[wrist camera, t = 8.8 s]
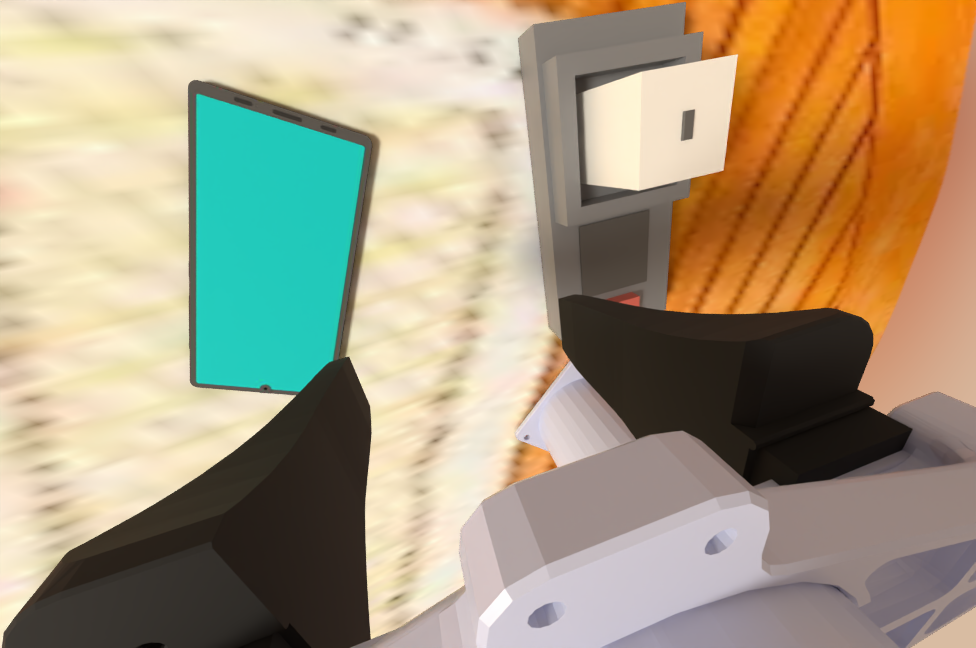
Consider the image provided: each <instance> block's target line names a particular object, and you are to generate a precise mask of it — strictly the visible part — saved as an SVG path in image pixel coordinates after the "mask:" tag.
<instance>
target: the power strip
mask: <svg viewBox="0 0 976 648" xmlns="http://www.w3.org/2000/svg"><path fill="white" fill-rule="evenodd" d="M685 8H686V2H683V3H676V4H669V5H662V6H656V7H649V8H642V9H635V10H628V11H622V12H615V13H608V14H601V15H594V16H588V17H581V18H574V19H567V20H560V21H554V22H547V23H540V24H533V25H532V26H531V27H530V28H529V29H528V30H527V31H526V32H525V33H523V34H522V35H521V36H520V37H519V38H518V43H519V52H520V61H521V71H522V80H523V90H524V99H525V108H526V118H527V127H528V137H529V146H530V155H531V165H532V174H533V183H534V193H535V202H536V212H537V221H538V230H539V240H540V249H541V259H542V268H543V277H544V287H545V296H546V305H547V315H548V324H549V328H550V329H551V330H552V331H553V332H554V333H555V334H556V335H557V336H558V337H559V338H560V339H561V340H562V336H561V325H560V314H559V303H558V299H559V298H563V297H566V296H570V295H573V294H578V295H586V296H591V297H596V298H600V299H605V300H610V301H614V302H619V303H624V304H628V305H634V306H639V307H645V308H651V309H657V310H665V309H666V297H667V282H668V267H669V251H670V236H671V221H672V206H673V201H676V200H680V199H684V198H688V197H689V194H690V182H691V178H690V179H686V180H682V181H677V182H673V183H669V184H665V185H661V186H656V187H652V188H648V189H644V190H639V191H638V190H630V189H622V188H614V187H606V186H597V185H589V184H581V183H580V170H579V149H578V129H577V109H576V94H579V93H582V92H584V91H587V90H590V89H593V88H596V87H599V86H602V85H605V84H608V83H610V82H613V81H616V80H619V79H622V78H625V77H628V76H631V75H634V74H637V73H639V72H643V71H648V70H654V69H659V68H665V67H671V66H676V65H682V64H687V63H693V62H698V61H701V54H702V42H703V32H698V33H692V34H685V35H684V23H685Z"/></svg>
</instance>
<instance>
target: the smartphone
mask: <svg viewBox="0 0 976 648" xmlns="http://www.w3.org/2000/svg"><path fill="white" fill-rule="evenodd" d="M188 142H189V349H190V383H191V384H192V385H193V386H195V387H200V388H213V389H225V390H238V391H250V392H260V393H275V394H287V395H297V394H298V393H299V392H300V391H301V390H302V389H303V388H304V387H305V386H306V385H307V384H308V383H309V382H310V381H311V380H312V379H313V377H314V376H315V375H316V374H317V373H318V372H319V371H320V370H321V369H322V368H323V367H324V366H325V365H326V364H328V363H329V362H331V361H335V360H338V359H339V354H340V347H341V341H342V335H343V328H344V322H345V315H346V309H347V303H348V296H349V290H350V284H351V277H352V271H353V265H354V258H355V252H356V246H357V239H358V233H359V226H360V220H361V214H362V207H363V201H364V195H365V188H366V182H367V176H368V169H369V163H370V156H371V150H372V142H371V140H370V139H369V137H367V136H366V135H363V134H360V133H357V132H354V131H351V130H348V129H345V128H342V127H339V126H336V125H333V124H330V123H327V122H324V121H321V120H318V119H314V118H311V117H308V116H305V115H302V114H299V113H296V112H293V111H290V110H287V109H284V108H281V107H278V106H275V105H272V104H269V103H266V102H263V101H260V100H256V99H253V98H250V97H247V96H244V95H241V94H238V93H235V92H232V91H229V90H226V89H223V88H220V87H217V86H214V85H211V84H208V83H205V82H202V81H198V80H194V81H191V82H190V83H189V85H188Z"/></svg>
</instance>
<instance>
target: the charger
mask: <svg viewBox="0 0 976 648" xmlns="http://www.w3.org/2000/svg"><path fill="white" fill-rule="evenodd" d="M737 57H738V54H737V55H732V56H726V57H720V58H715V59H709V60H704V61H698V62H693V63H687V64H682V65H676V66H671V67H665V68H659V69H654V70H648V71H643V72H639V73H637V74H634V75H631V76H628V77H625V78H622V79H619V80H616V81H613V82H610V83H608V84H605V85H602V86H599V87H596V88H593V89H590V90H587V91H584V92H582V93H579V94H576V109H577V129H578V149H579V170H580V183H581V184H589V185H597V186H606V187H614V188H622V189H630V190H638V191H639V190H644V189H648V188H652V187H656V186H661V185H665V184H669V183H673V182H677V181H682V180H686V179H690V178H694V177H698V176H703V175H707V174H711V173H715V172H720V171H723V170H724V162H725V154H726V146H727V138H728V130H729V122H730V114H731V105H732V97H733V89H734V81H735V73H736V65H737Z"/></svg>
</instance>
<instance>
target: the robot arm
mask: <svg viewBox="0 0 976 648" xmlns="http://www.w3.org/2000/svg"><path fill="white" fill-rule="evenodd" d="M558 303H559V314H560V325H561V336H562V348H563V350H564V351H565V353H566V355H567V356H568V358H569V359H570V361H569V362H568V364H567V365H566V366H565V368H564V369H563V370H562V371H561V373H560V374H559V375H558V377H557V378H556V379H555V381H554V382H553V383H552V384H551V386H550V387H549V388H548V390H547V391H546V392H545V394H544V395H543V396H542V397H541V399H540V400H539V401H538V403H537V404H536V405H535V407H534V408H533V409H532V410H531V412H530V413H529V414H528V416H527V417H526V418H525V420H524V421H523V422H522V423H521V425H520V426H519V427H518V429H517V430H516V432H515V436H516V438H517V439H518V440H520V441H523V442H525V443H528V444H531V445H533V446H536V447H538V448H541V449H544V450H546V451H549V452H550V454H551V456H552V458H553V459H554V461H555V463H556V465H557V467H558V468H555V469H552V470H549V471H546V472H543V473H541V474H538V475H535V476H532V477H529V478H527V479H524V480H521V481H518V482H515V483H513V484H511V485H509V486H507V487H506V488H504V489H502V490H500V491H498V492H497V493H495V494H493V495H491V496H490V497H488V498H486V499H484V500H483V501H482V503H481V504H480V505H479V506H478V508H477V509H476V510H475V511H474V513H473V514H472V515H471V516H470V518H469V519H468V520H467V522H466V523H465V524H464V525H463V527H462V528H461V533H460V547H459V555H460V561H461V566H462V571H463V577H464V582H465V585H464V586H463V587H461V588H460V589H458V590H457V591H455V592H453V593H452V594H450V595H449V596H447V597H446V598H444V599H443V600H441V601H439V602H438V603H436V604H435V605H433V606H432V607H430V608H429V609H427V610H426V611H424V612H422V613H421V614H419V615H418V616H416V617H415V618H413V619H412V620H410V621H408V622H407V623H405V624H404V625H402V626H401V627H399V628H398V629H396V630H393V631H391V632H388V633H386V634H383V635H381V636H378V637H376V638H373V639H371V637H370V625H369V609H368V591H367V572H366V545H365V497H366V486H367V476H368V466H369V455H370V444H371V414H370V405H369V403H368V400H367V398H366V396H365V393H364V391H363V389H362V386H361V384H360V382H359V379H358V377H357V374H356V372H355V370H354V367H353V365H352V363H351V360H350V358H349V357H345V358H342V359H338V360H335V361H331V362H329V363H328V364H326V365H325V366H324V367H323V368H322V369H321V370H320V371H319V372H318V373H317V374H316V375H315V376H314V377H313V379H312V380H311V381H310V382H309V383H308V384H307V385H306V386H305V387H304V388H303V389H302V390H301V391H300V392H299V393H298V394H297V395H296V397H295V398H294V399H293V400H292V401H291V402H290V403H288V404H287V405H286V406H285V407H284V408H283V409H282V410H281V411H280V412H279V413H278V414H277V415H276V416H275V417H274V418H273V419H272V420H271V421H270V422H269V423H268V424H266V425H265V426H264V427H263V428H262V429H261V430H260V431H258V432H257V433H256V434H255V435H254V436H252V437H251V438H250V439H249V440H248V441H246V442H245V443H244V444H243V445H241V446H240V447H239V448H238V449H236V450H235V451H234V452H232V453H231V454H229V455H228V456H227V457H225V458H224V459H222V460H221V461H220V462H218V463H217V464H215V465H214V466H213V467H211V468H210V469H208V470H207V471H206V472H204V473H203V474H201V475H200V476H199V477H197V478H196V479H194V480H192V481H191V482H189V483H188V484H186V485H185V486H183V487H182V488H180V489H178V490H177V491H175V492H174V493H172V494H170V495H169V496H167V497H166V498H164V499H162V500H161V501H159V502H157V503H156V504H154V505H152V506H151V507H149V508H147V509H146V510H144V511H142V512H140V513H139V514H137V515H135V516H133V517H132V518H130V519H128V520H126V521H124V522H122V523H121V524H119V525H117V526H115V527H113V528H111V529H110V530H108V531H106V532H104V533H102V534H100V535H99V536H97V537H95V538H93V539H91V540H89V541H88V542H86V543H84V544H82V545H80V546H78V547H76V548H74V549H72V550H70V551H69V552H68V553H67V554H66V555H65V556H64V557H63V558H62V560H61V561H60V562H59V563H58V565H57V566H56V567H55V568H54V570H53V571H52V572H51V573H50V575H49V576H48V577H47V578H46V580H45V581H44V582H43V583H42V585H41V586H40V587H39V588H38V589H37V591H36V592H35V593H34V594H33V596H32V597H31V598H30V599H29V601H28V602H27V603H26V604H25V605H24V607H23V608H22V609H21V610H20V612H19V613H18V614H17V615H16V617H15V618H14V619H13V621H12V622H11V623H10V625H9V626H8V628H7V629H6V630H5V632H4V635H3V644H2V648H910V647H912V646H914V645H915V644H917V643H919V642H920V641H922V640H923V639H925V638H927V637H928V636H930V635H931V634H933V633H935V632H936V631H938V630H939V629H941V628H942V627H944V626H946V625H947V624H949V623H950V622H952V621H953V620H955V619H957V618H958V617H960V616H962V615H963V614H965V613H967V612H968V611H970V610H972V609H973V608H975V607H976V407H974V406H971V405H969V404H966V403H964V402H962V401H959V400H957V399H955V398H952V397H950V396H947V395H945V394H943V393H940V392H933V393H929V394H927V395H924V396H921V397H919V398H916V399H914V400H911V401H909V402H906V403H904V404H901V405H899V406H897V407H895V408H894V409H893V410H892V411H891V412H890V413H889V414H888V415H887V416H886V415H884V414H882V413H881V412H878V411H877V410H875V409H873V408H871V407H869V406H872V405H873V404H874V401H875V400H874V399H873V397H872V396H870V395H868V394H866V393H864V392H861V391H859V390H857V389H858V386H859V383H860V381H861V378H862V375H863V373H864V370H865V368H866V365H867V363H868V360H869V358H870V354H871V351H872V347H873V333H872V330H871V328H870V325H869V323H868V322H867V321H865V320H864V319H863V318H861V317H859V316H856V315H853V314H850V313H847V312H844V311H841V310H838V309H832V308H821V309H811V310H800V311H790V312H780V313H761V314H698V313H684V312H674V311H665V310H657V309H651V308H645V307H639V306H634V305H628V304H624V303H619V302H614V301H610V300H605V299H600V298H596V297H591V296H586V295H578V294H573V295H570V296H566V297H563V298H559V299H558ZM526 435H527V436H526ZM525 436H526V437H525Z"/></svg>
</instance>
